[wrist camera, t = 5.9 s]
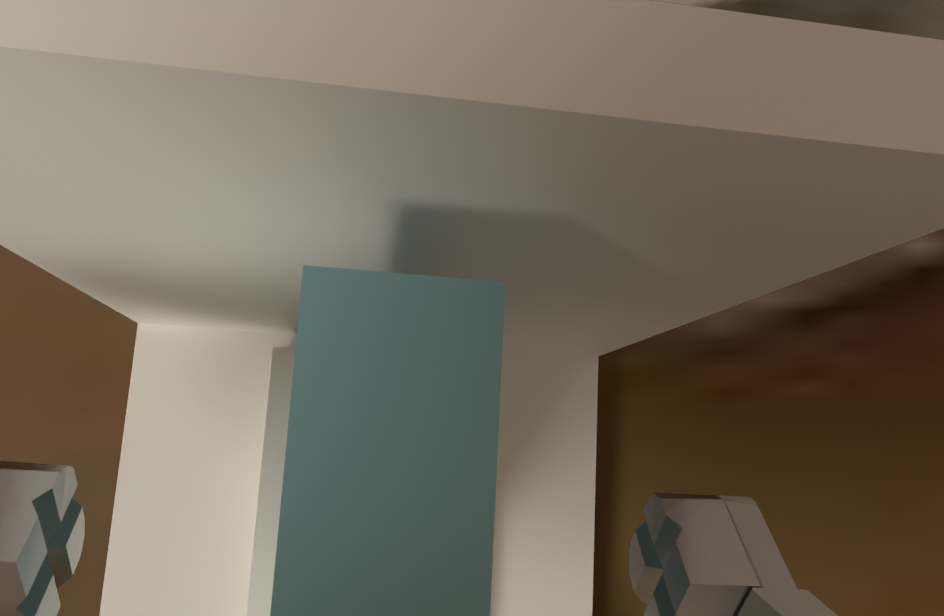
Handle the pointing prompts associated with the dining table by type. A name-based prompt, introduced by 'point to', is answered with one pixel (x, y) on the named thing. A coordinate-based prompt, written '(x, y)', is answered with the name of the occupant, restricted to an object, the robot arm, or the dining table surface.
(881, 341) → the dining table surface
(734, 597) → the robot arm
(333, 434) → the tall board
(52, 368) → the dining table surface
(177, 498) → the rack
